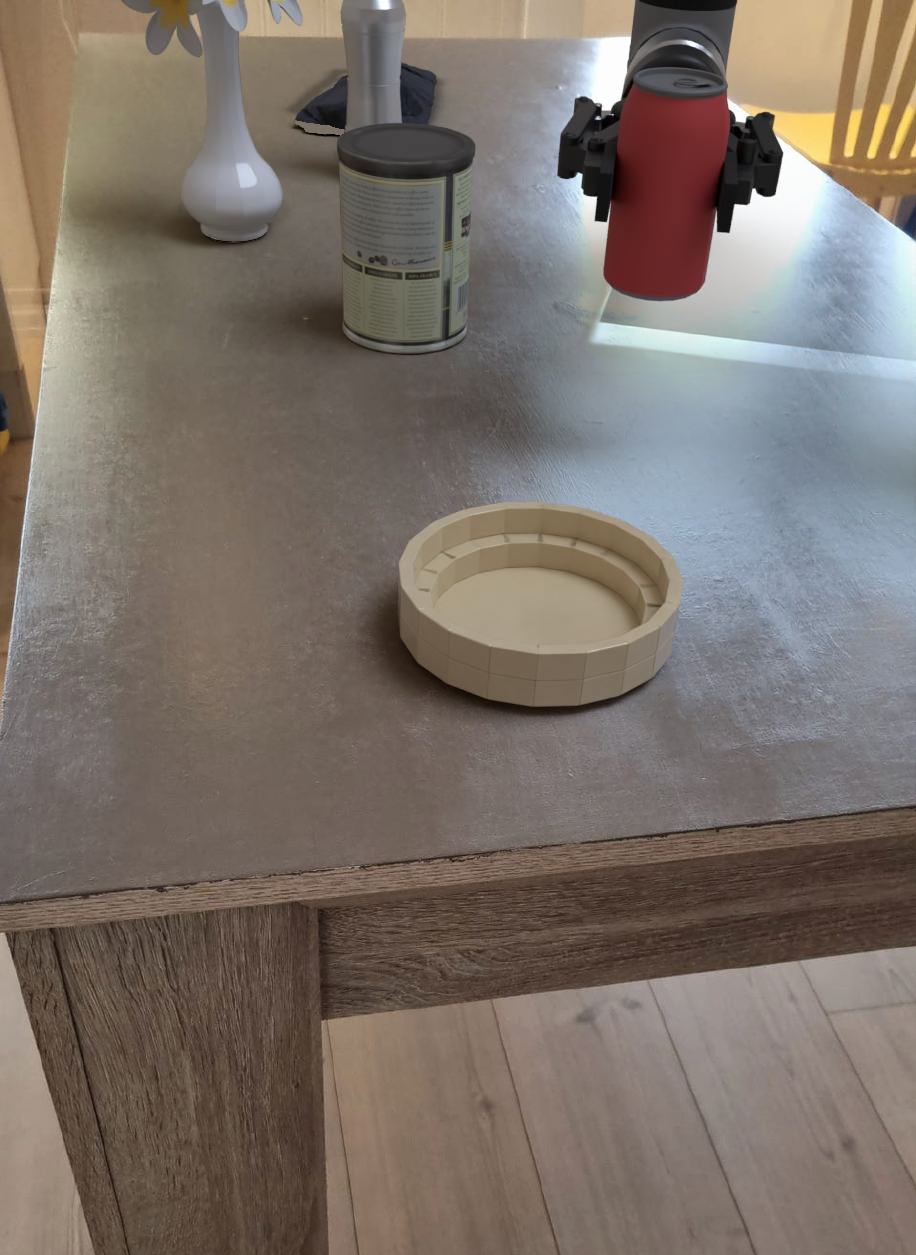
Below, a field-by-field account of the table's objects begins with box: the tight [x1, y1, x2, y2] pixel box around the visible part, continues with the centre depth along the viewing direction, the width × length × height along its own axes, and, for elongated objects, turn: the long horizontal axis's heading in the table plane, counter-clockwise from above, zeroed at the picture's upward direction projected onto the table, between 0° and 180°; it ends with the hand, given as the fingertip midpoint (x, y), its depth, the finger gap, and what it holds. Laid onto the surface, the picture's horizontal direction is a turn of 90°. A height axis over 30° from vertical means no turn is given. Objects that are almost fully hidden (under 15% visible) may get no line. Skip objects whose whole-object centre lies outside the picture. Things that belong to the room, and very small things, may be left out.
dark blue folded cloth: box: [294, 61, 438, 130], centre depth 152 cm, size 15×22×5 cm
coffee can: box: [336, 123, 476, 355], centre depth 102 cm, size 10×10×14 cm
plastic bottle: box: [339, 0, 407, 133], centre depth 129 cm, size 6×7×20 cm
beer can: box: [602, 67, 730, 302], centre depth 80 cm, size 7×7×12 cm
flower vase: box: [120, 0, 304, 243], centre depth 113 cm, size 13×18×25 cm
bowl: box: [397, 501, 685, 708], centre depth 73 cm, size 16×16×4 cm
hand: (665, 203), depth 76 cm, fingers closed on beer can, 6 cm apart
